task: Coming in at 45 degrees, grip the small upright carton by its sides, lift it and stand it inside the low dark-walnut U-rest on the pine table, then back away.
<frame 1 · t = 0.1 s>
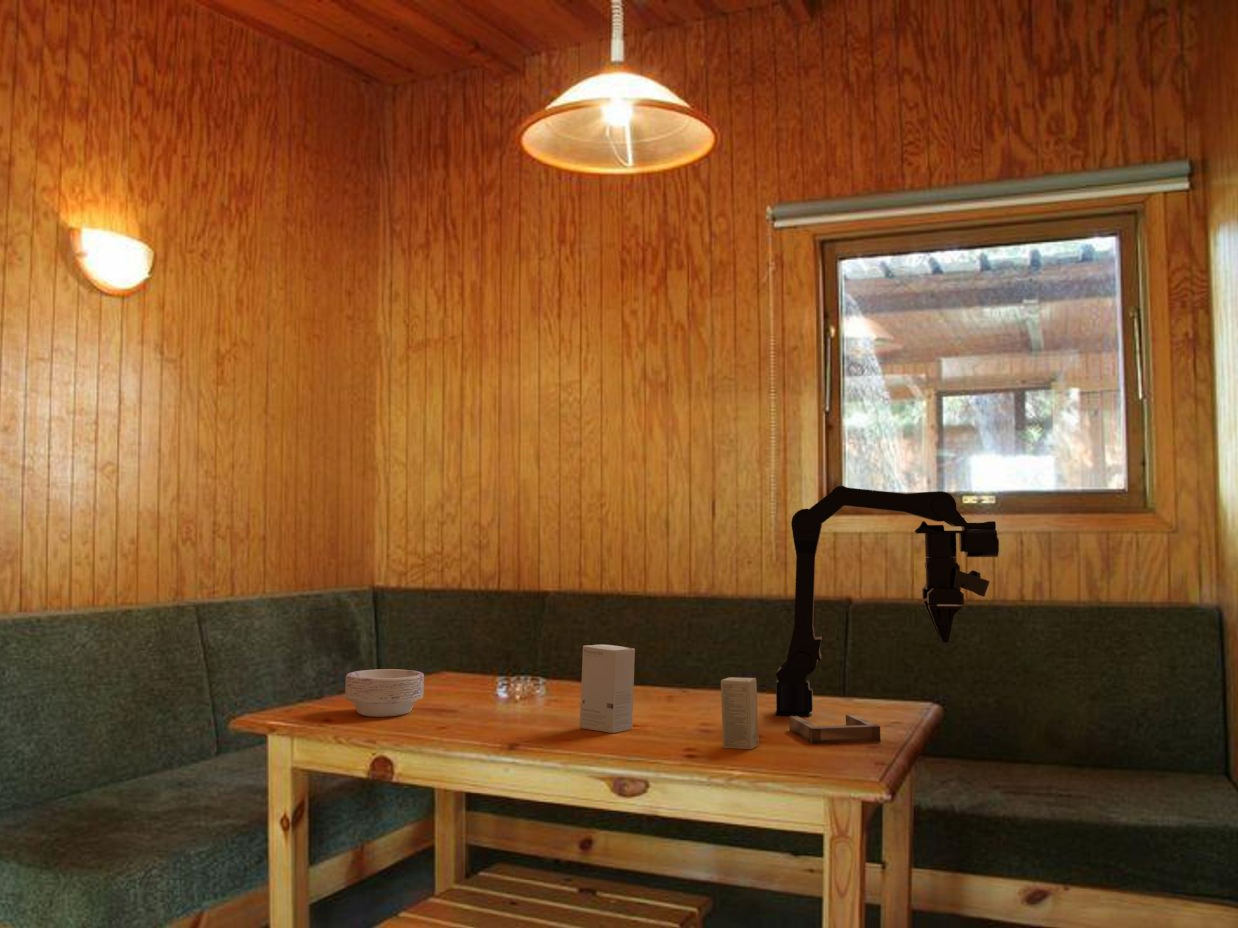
hand: (943, 639, 198), 15 cm above the table, tool pointing down, fingers open, 9 cm apart
walnut u rest: (833, 735, 181), on the table
paper bowls: (384, 714, 206), on the table
box: (740, 747, 172), on the table
skincare box: (607, 730, 188), on the table
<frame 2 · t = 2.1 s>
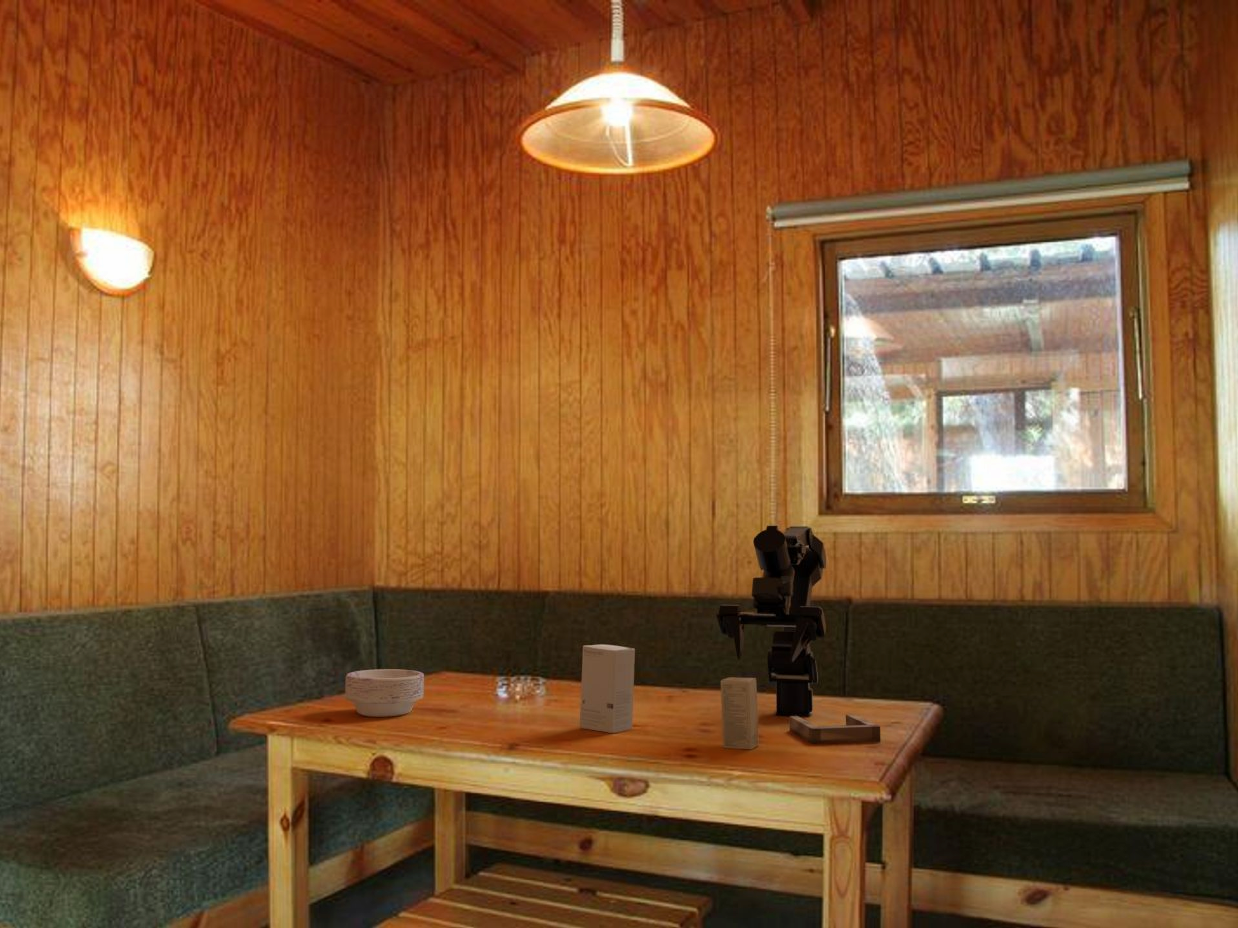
hand: (764, 659, 180), 13 cm above the table, tool tilted 45°, fingers open, 9 cm apart
nothing on the table moved.
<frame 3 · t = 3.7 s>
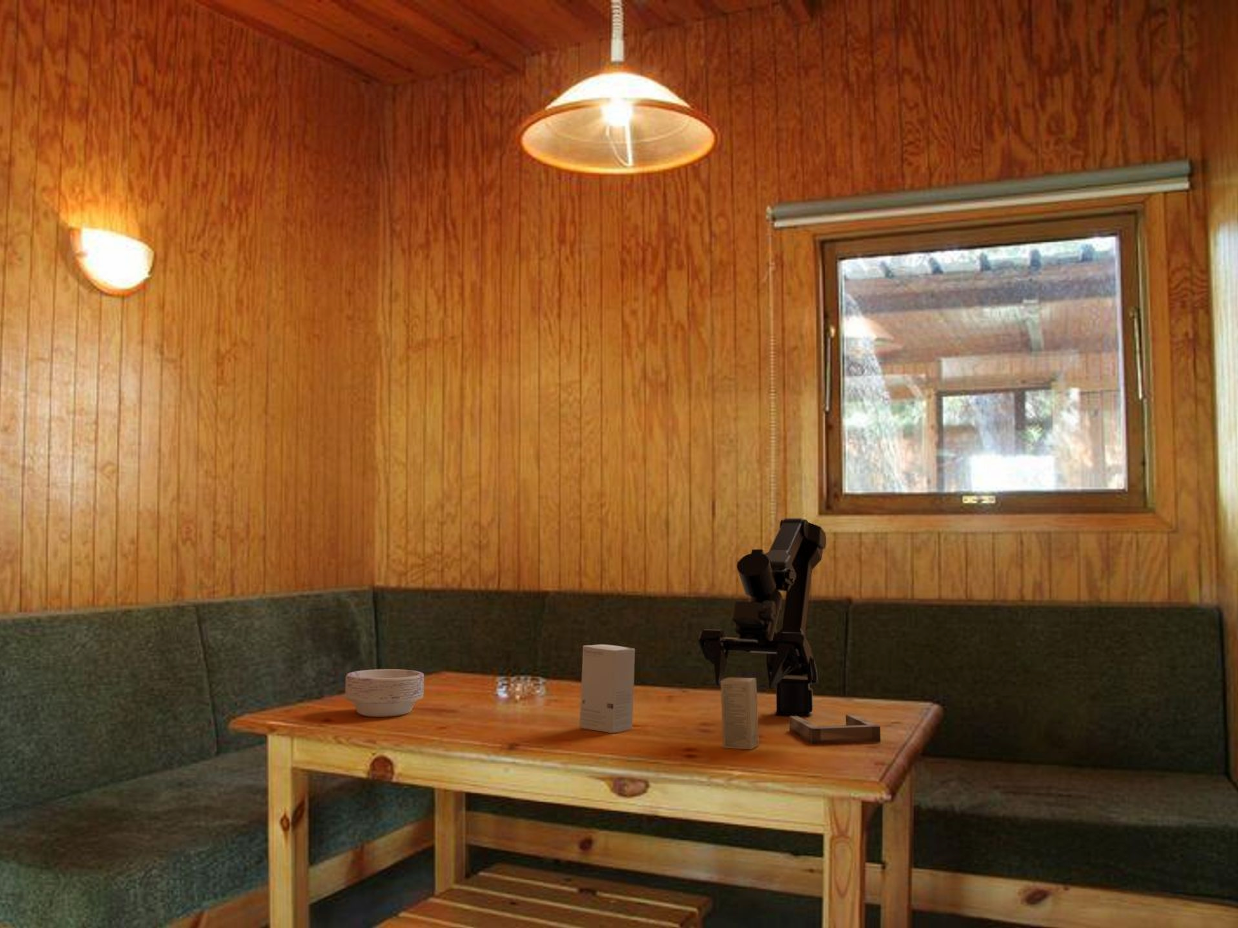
hand: (743, 685, 175), 10 cm above the table, tool tilted 45°, fingers open, 9 cm apart
nothing on the table moved.
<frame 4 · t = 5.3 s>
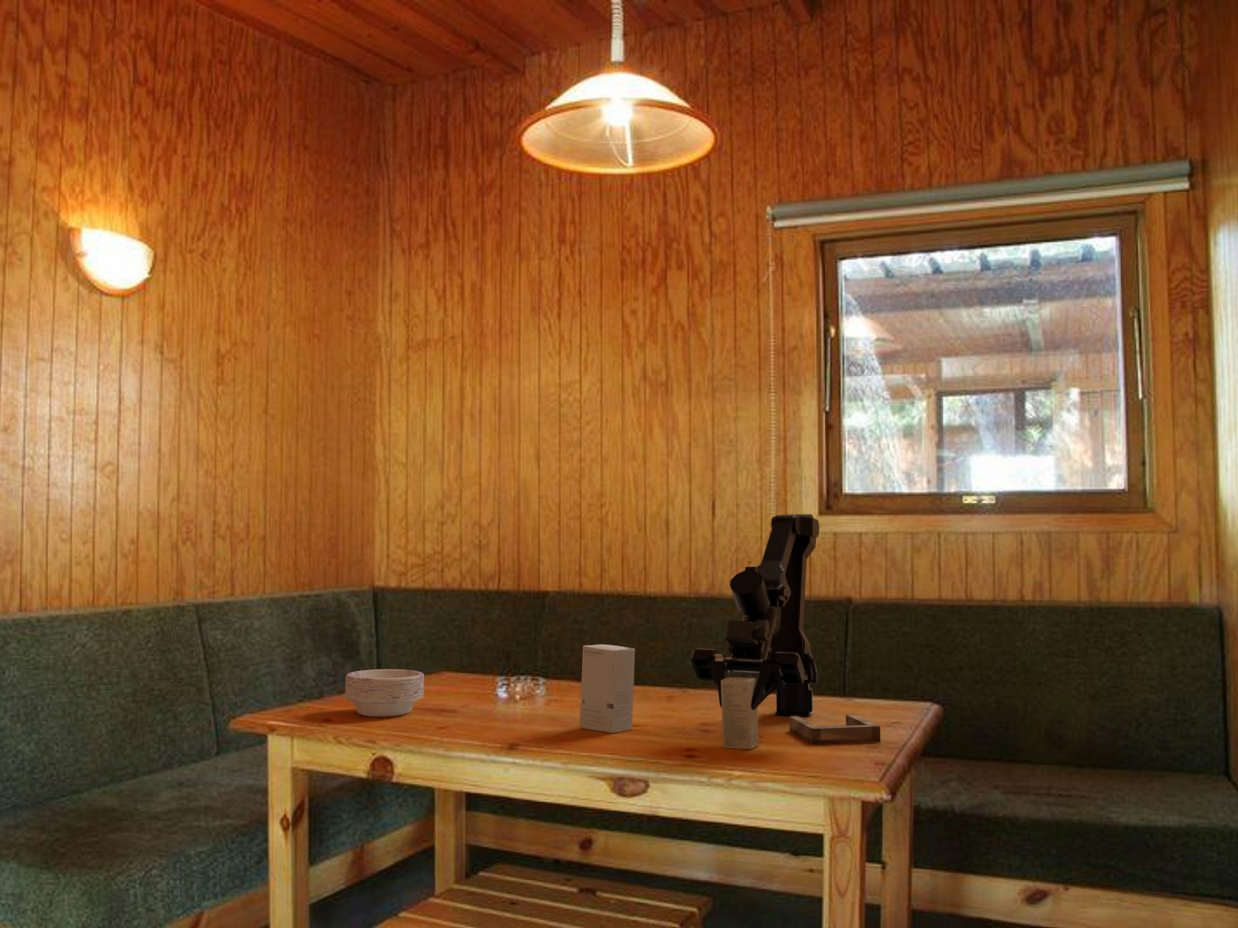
hand: (736, 707, 171), 7 cm above the table, tool tilted 45°, fingers closed on box, 5 cm apart
box: (740, 747, 172), on the table, touching gripper
everything else where it was.
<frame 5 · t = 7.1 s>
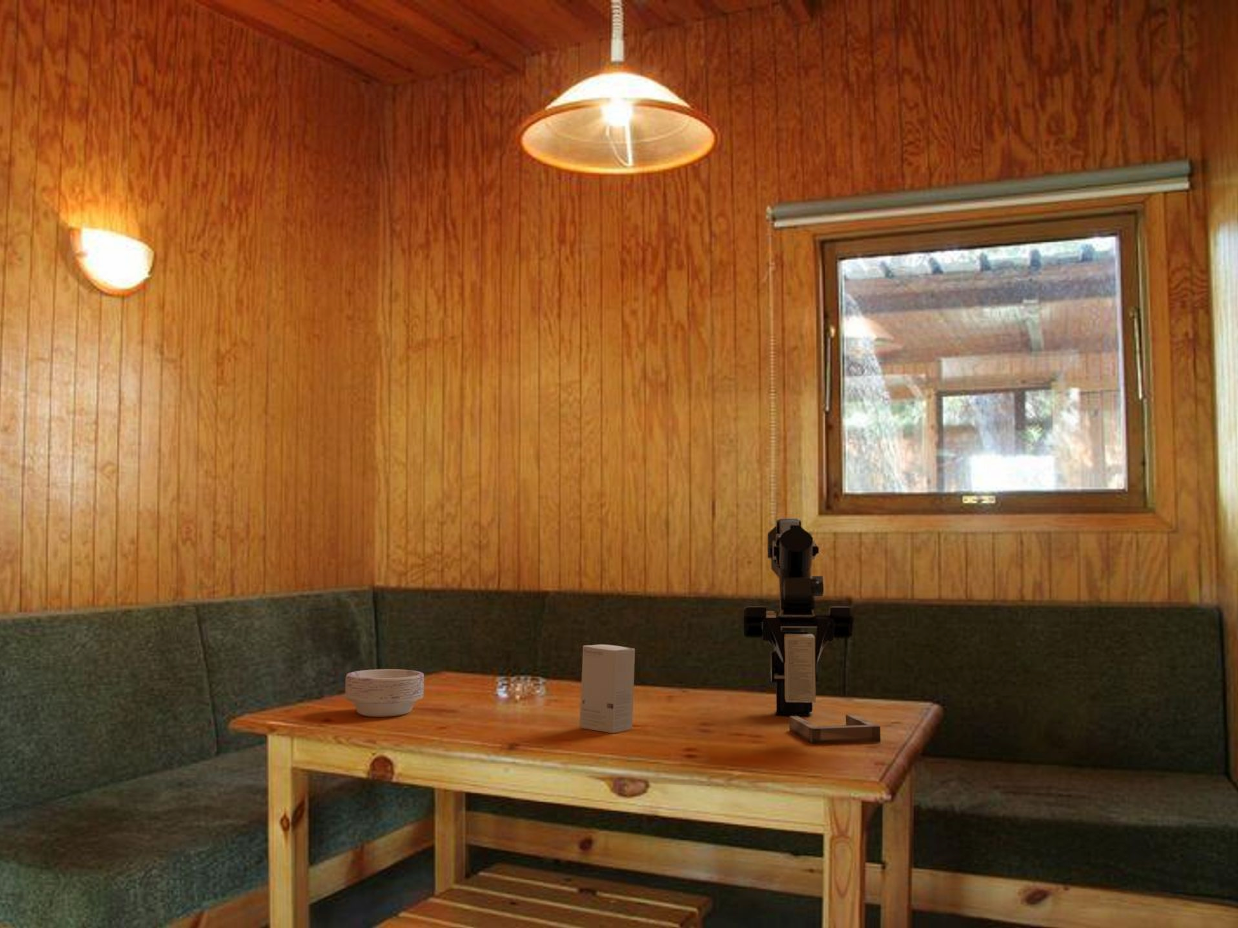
hand: (800, 661, 175), 14 cm above the table, tool tilted 45°, fingers closed on box, 5 cm apart
box: (799, 701, 176), point 7 cm above the table, touching gripper
everything else where it was.
when the fingers open (8 cm above the table, at t = 9.1 s): box stays where it is, resting on walnut u rest.
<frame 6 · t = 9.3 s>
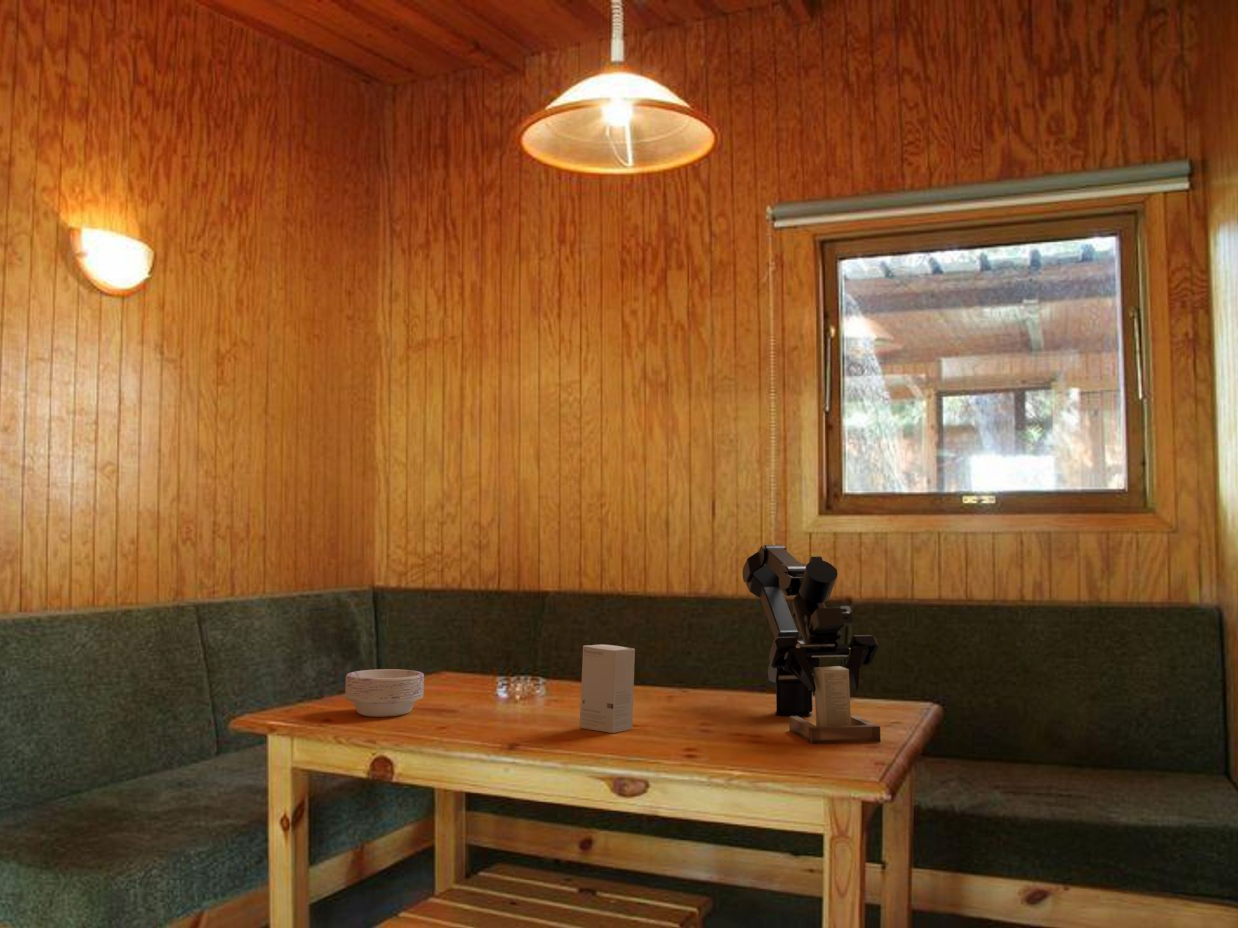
hand: (835, 689, 180), 8 cm above the table, tool tilted 45°, fingers open, 7 cm apart
box: (833, 733, 181), resting on walnut u rest
everything else where it was.
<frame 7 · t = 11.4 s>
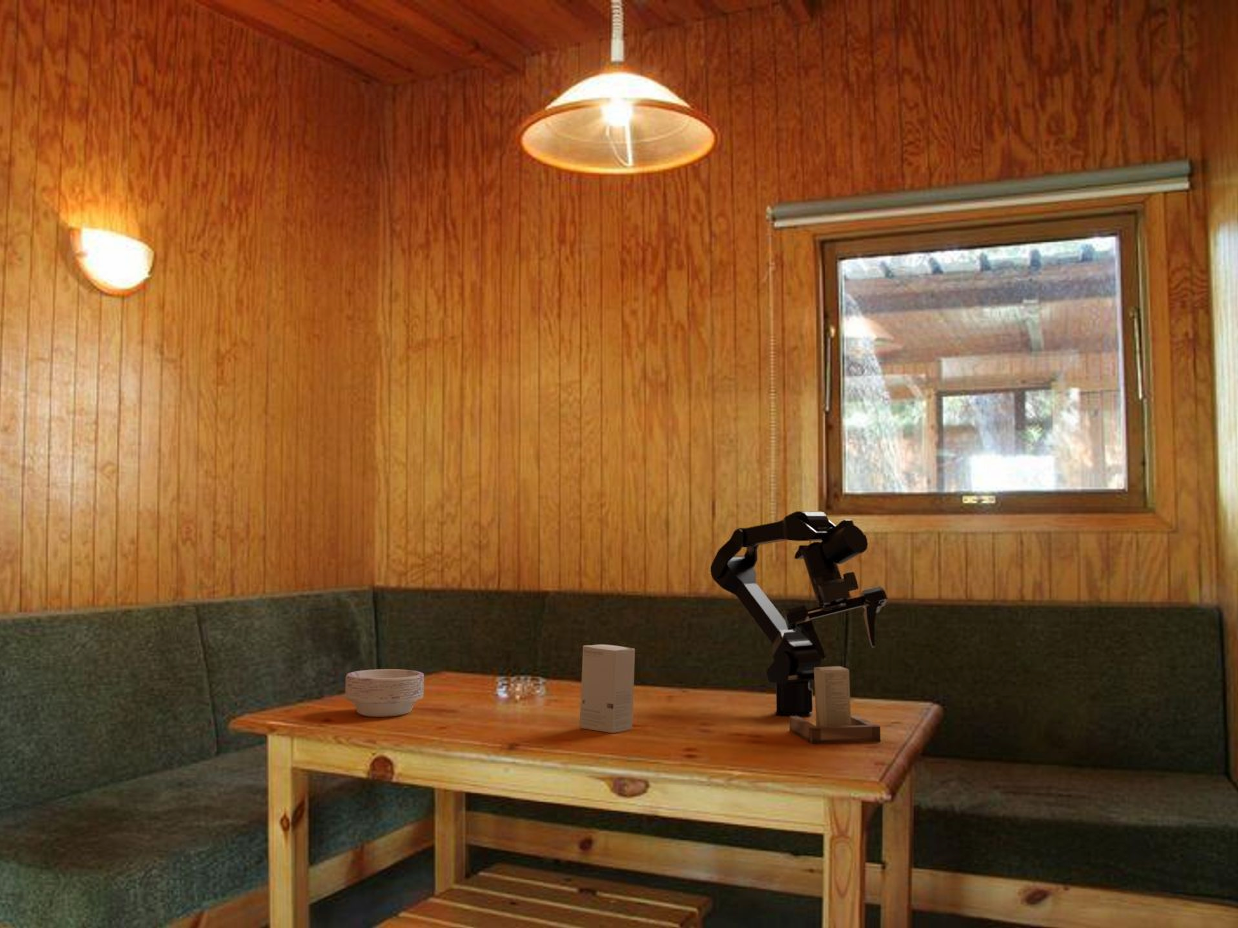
hand: (848, 652, 191), 13 cm above the table, tool tilted 25°, fingers open, 9 cm apart
nothing on the table moved.
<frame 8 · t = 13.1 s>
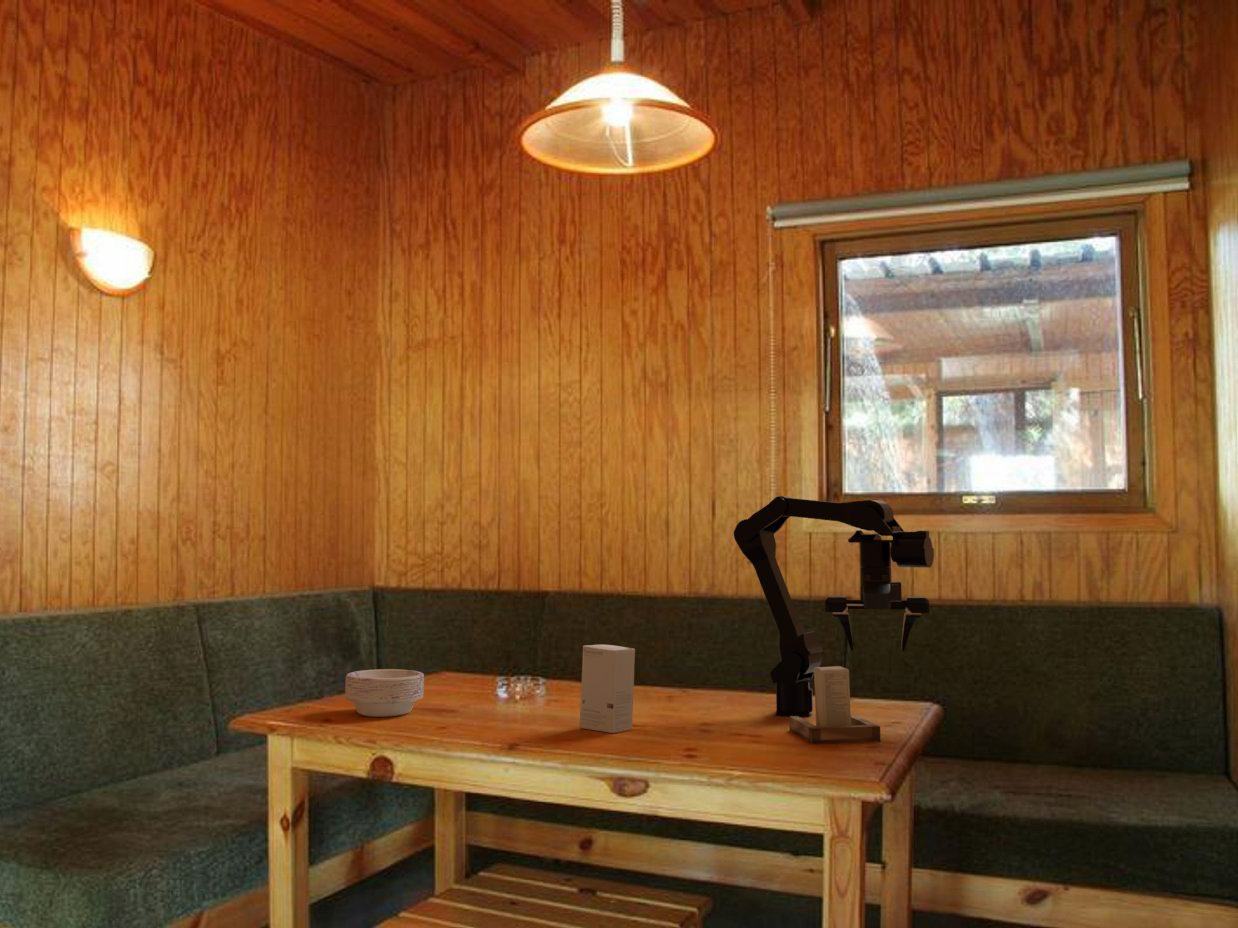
hand: (877, 651, 194), 13 cm above the table, tool pointing down, fingers open, 9 cm apart
nothing on the table moved.
at the end: box 0.1 cm from the walnut u rest (horizontally); box tilted 0°; the gripper is holding nothing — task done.
